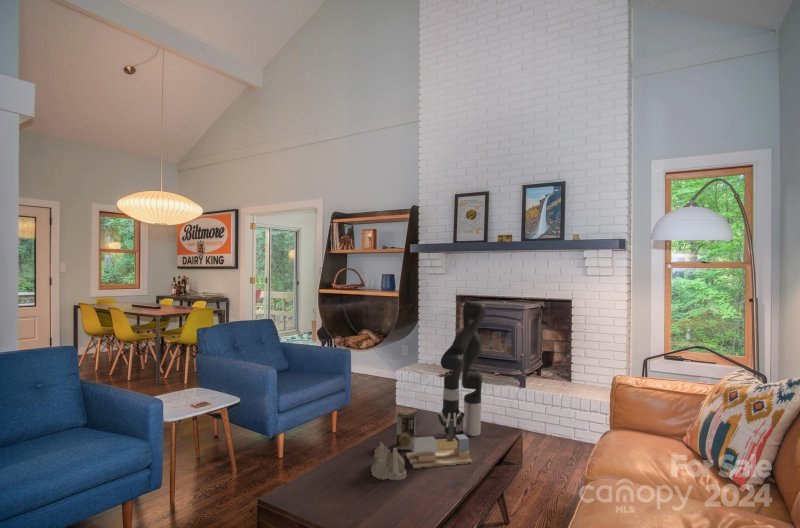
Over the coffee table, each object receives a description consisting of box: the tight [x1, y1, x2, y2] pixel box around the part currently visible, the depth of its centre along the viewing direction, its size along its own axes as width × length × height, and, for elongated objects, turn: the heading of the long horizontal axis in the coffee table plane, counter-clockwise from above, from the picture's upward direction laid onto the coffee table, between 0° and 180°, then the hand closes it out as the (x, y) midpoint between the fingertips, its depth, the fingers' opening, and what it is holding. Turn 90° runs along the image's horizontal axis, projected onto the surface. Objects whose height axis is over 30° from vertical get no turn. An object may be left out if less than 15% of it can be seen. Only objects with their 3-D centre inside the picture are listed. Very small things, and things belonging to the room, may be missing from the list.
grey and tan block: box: [410, 436, 437, 463], centre depth 210 cm, size 10×11×9 cm
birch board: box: [405, 448, 473, 469], centre depth 212 cm, size 14×28×1 cm, turn 103°
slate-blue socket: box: [453, 433, 471, 459], centre depth 214 cm, size 8×5×9 cm, turn 13°
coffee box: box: [395, 412, 416, 451], centre depth 225 cm, size 9×6×16 cm
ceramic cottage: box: [370, 441, 408, 481], centre depth 199 cm, size 16×16×15 cm
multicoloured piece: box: [435, 419, 459, 450], centre depth 213 cm, size 3×16×12 cm, turn 103°
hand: (450, 433), depth 213 cm, fingers closed on multicoloured piece, 2 cm apart
